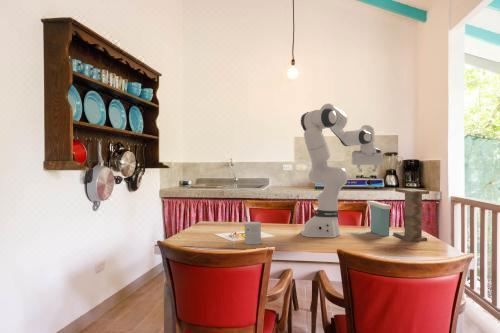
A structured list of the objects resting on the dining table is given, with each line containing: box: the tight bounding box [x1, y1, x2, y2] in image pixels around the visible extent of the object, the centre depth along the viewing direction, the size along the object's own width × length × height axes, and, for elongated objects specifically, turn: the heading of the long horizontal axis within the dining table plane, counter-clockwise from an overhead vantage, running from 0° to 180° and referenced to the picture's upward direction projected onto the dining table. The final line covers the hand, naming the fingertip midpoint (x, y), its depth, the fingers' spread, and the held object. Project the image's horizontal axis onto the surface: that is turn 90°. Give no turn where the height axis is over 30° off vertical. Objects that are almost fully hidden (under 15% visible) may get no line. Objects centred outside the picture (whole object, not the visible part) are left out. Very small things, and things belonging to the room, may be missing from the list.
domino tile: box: [366, 200, 392, 210], centre depth 191 cm, size 4×22×2 cm, turn 6°
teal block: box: [370, 205, 390, 237], centre depth 189 cm, size 5×12×16 cm, turn 5°
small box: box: [244, 221, 262, 245], centre depth 167 cm, size 8×6×10 cm
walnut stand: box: [392, 188, 430, 242], centre depth 177 cm, size 11×16×26 cm
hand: (367, 171), depth 212 cm, fingers open, 8 cm apart
